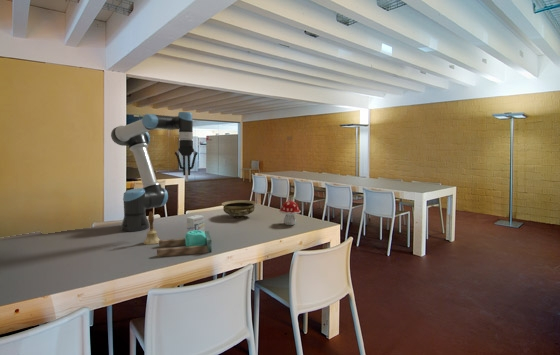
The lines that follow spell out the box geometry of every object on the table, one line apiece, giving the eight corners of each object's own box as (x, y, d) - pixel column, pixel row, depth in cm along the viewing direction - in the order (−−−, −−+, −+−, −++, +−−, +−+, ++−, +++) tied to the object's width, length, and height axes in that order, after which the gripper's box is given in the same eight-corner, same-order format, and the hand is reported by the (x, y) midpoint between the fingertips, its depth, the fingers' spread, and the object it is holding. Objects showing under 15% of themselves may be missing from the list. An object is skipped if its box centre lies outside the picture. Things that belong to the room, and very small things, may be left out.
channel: (157, 256, 143) (156, 243, 143) (159, 246, 158) (159, 234, 158) (211, 252, 150) (211, 239, 150) (208, 242, 165) (208, 230, 165)
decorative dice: (206, 249, 154) (206, 233, 154) (189, 252, 150) (189, 235, 149) (201, 244, 161) (201, 229, 160) (185, 247, 157) (185, 231, 156)
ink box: (198, 235, 178) (198, 214, 177) (205, 236, 175) (204, 215, 174) (186, 239, 171) (186, 217, 170) (193, 240, 168) (192, 218, 167)
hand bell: (143, 245, 159) (142, 214, 158) (143, 240, 167) (142, 210, 165) (161, 243, 163) (160, 212, 161) (160, 239, 170) (159, 209, 169)
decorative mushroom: (294, 220, 215) (294, 198, 213) (304, 225, 202) (304, 201, 201) (275, 222, 209) (275, 199, 207) (284, 227, 196) (285, 203, 195)
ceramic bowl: (218, 213, 234) (218, 200, 233) (250, 211, 242) (250, 198, 241) (225, 223, 206) (225, 208, 205) (261, 220, 214) (261, 206, 213)
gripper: (173, 139, 176) (174, 182, 178) (198, 139, 179) (198, 181, 182) (174, 139, 183) (175, 180, 185) (197, 139, 186) (198, 180, 189)
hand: (186, 181), depth 183 cm, fingers closed
